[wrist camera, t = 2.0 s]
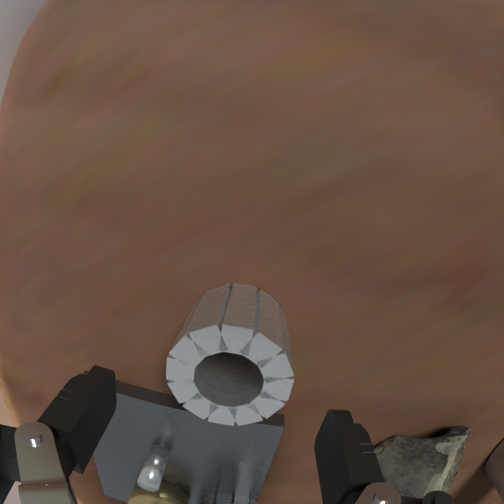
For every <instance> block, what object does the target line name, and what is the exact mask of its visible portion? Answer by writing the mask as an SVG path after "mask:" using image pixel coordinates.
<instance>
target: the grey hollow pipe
mask: <svg viewBox="0 0 504 504" xmlns="http://www.w3.org/2000/svg"><path fill="white" fill-rule="evenodd" d="M197 504H259V503H258V502H256V501H254V500H253V499H251V498H250V499H249V497H245V496H241V495H237V494H234V495H232V493H217V495H216V494H215V493H214V494H210V495H206V496H203V497H201V498H200V500H199V501H198V502H197Z"/></svg>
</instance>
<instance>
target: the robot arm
mask: <svg viewBox="0 0 504 504" xmlns="http://www.w3.org/2000/svg"><path fill="white" fill-rule="evenodd" d="M116 404H117V398H116V385H115V373H114V371H113V370H109V369H106V368H103V367H100V366H96V365H95V366H93V367H92V369H91V370H90V371H89V372H88V374H87V375H86V376H85V375H83V374H79V375H77V376H75V377H73V378H72V379H70V380H69V381H68V382H67V383H66V385H65V386H64V387H63V390H61V391H60V392H59V394H58V396H56V397H55V399H54V400H53V401H52V402H51V404H50V405H49V406H48V408H47V409H46V410H45V411H44V413H43V414H42V415H41V417H40V418H39V419H38V420H37V422H36V421H30V422H25V423H23V424H21V425H20V426H19V427H18V428H15V427H10V426H5V425H1V424H0V504H3V503H4V501H5V499H6V497H7V495H8V493H9V491H10V490H11V488H12V486H13V484H14V482H15V481H18V482H21V485H19V487H18V489H19V496H20V501H21V504H78V503H77V500H76V497H75V494H74V491H73V488H72V485H71V482H70V479H69V476H70V475H71V473H72V471H76V472H78V473H81V474H83V472H84V470H85V468H86V466H87V464H88V462H89V460H90V458H91V456H92V455H93V453H94V451H95V449H96V447H97V445H98V443H99V441H100V439H101V437H102V436H103V434H104V432H105V430H106V428H107V426H108V424H109V422H110V421H111V419H112V417H113V415H114V413H115V409H116ZM371 443H372V442H371V440H370V437H369V434H368V432H367V431H366V430H365V429H364V428H363V426H362V425H361V424H354V422H353V419H352V416H351V413H350V411H348V410H328V412H327V414H326V416H325V418H324V421H323V423H322V425H321V427H320V430H319V432H318V434H317V436H316V440H315V456H316V462H317V468H318V474H319V481H320V487H321V493H322V500H323V504H455V502H454V500H453V498H452V497H451V496H450V495H449V494H447V493H446V492H443V491H437V490H436V491H431V492H429V493H427V494H426V495H425V496H424V497H423V498H422V499H421V498H413V497H405V496H401V495H400V494H399V492H398V491H397V489H396V488H394V487H393V486H391V485H390V484H387V483H385V480H384V477H383V474H382V471H381V468H380V465H379V462H378V460H377V457H376V454H375V453H374V448H373V445H371ZM485 471H486V472H487V474H488V476H489V477H490V479H491V481H492V483H493V484H494V486H495V488H496V490H497V491H498V494H499V495H500V497H501V499H502V501H503V503H504V440H503V441H502V442H501V443H500V444H499V446H498V447H497V448H496V449H495V450H494V452H493V453H492V455H491V456H490V457H489V459H488V461H487V463H486V466H485Z"/></svg>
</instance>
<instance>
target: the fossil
mask: <svg viewBox="0 0 504 504" xmlns="http://www.w3.org/2000/svg"><path fill="white" fill-rule="evenodd" d="M470 431H471V430H470V428H469V427H465V426H453V427H452V428H451V429H450V430H449V431H448V432H447V433H446V434H445V435H443V436H440V437H435V438H420V437H411V436H396V437H391V438H389V439H387V440H386V441H384V442H382V443H381V444H380V445H378V446H377V447H375V448H374V453H375V454H376V457H377V460H378V462H379V465H380V468H381V471H382V474H383V477H384V480H385V483H387V484H390V485H391V486H393V487H394V488H396V489H397V491H398V492H399V494H400V495H401V496H405V497H413V498H421V499H422V498H423V497H424V496H425V495H426V494H427V493H429V492H431V491H436V490H437V491H443V492H446V493H447V492H448V490H449V488H450V487H451V484H452V482H453V480H454V479H455V476H456V474H457V471H458V467H459V463H460V461H461V459H462V457H463V454H464V451H465V447H464V444H465V442H466V439H467V437H468V435H469V434H470Z"/></svg>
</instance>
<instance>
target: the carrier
mask: <svg viewBox="0 0 504 504" xmlns="http://www.w3.org/2000/svg"><path fill="white" fill-rule="evenodd" d="M87 374H88V371H85V372H84V373H83V375H85V376H86V375H87ZM115 385H116V398H117V404H116V409H115V413H114V415H113V417H112V419H111V421H110V422H109V424H108V426H107V428H106V430H105V432H104V434H103V436H102V437H101V439H100V441H99V443H98V445H97V447H96V449H95V451H94V453H93V456H94V460H95V464H96V467H97V471H98V474H99V478H100V481H101V484H102V488H103V491H104V494H105V495H106V496H109V497H112V498H114V499H117V500H120V501H123V502H126V503H127V504H197V502H198V501H199V500H200V498H201V497H203V496H206V495H210V494H214V493H215V494H216V495H217V493H232V495H234V494H237V495H241V496H245V497H249V499H250V498H251V499H253V500H254V501H256V500H257V498H258V495H259V493H260V490H261V488H262V485H263V483H264V480H265V478H266V475H267V473H268V470H269V467H270V465H271V462H272V459H273V457H274V454H275V451H276V449H277V446H278V443H279V440H280V438H281V435H282V432H283V429H284V415H282V414H273V415H271V416H270V417H269V418H265V417H263V421H259V422H255V423H250V424H246V425H241V426H238V424H237V423H236V421H235V422H234V426H230V425H224V424H218V423H213V422H208V418H209V416H208V417H207V418H205V419H204V420H203V419H201V418H200V417H198V416H196V415H195V414H193V413H192V412H190V411H189V410H187V409H185V408H184V407H182V406H183V403H179V402H178V401H177V399H176V397H175V396H172V395H167V394H163V393H159V392H155V391H151V390H148V389H144V388H140V387H136V386H133V385H129V384H126V383H122V382H119V381H116V380H115Z"/></svg>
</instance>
